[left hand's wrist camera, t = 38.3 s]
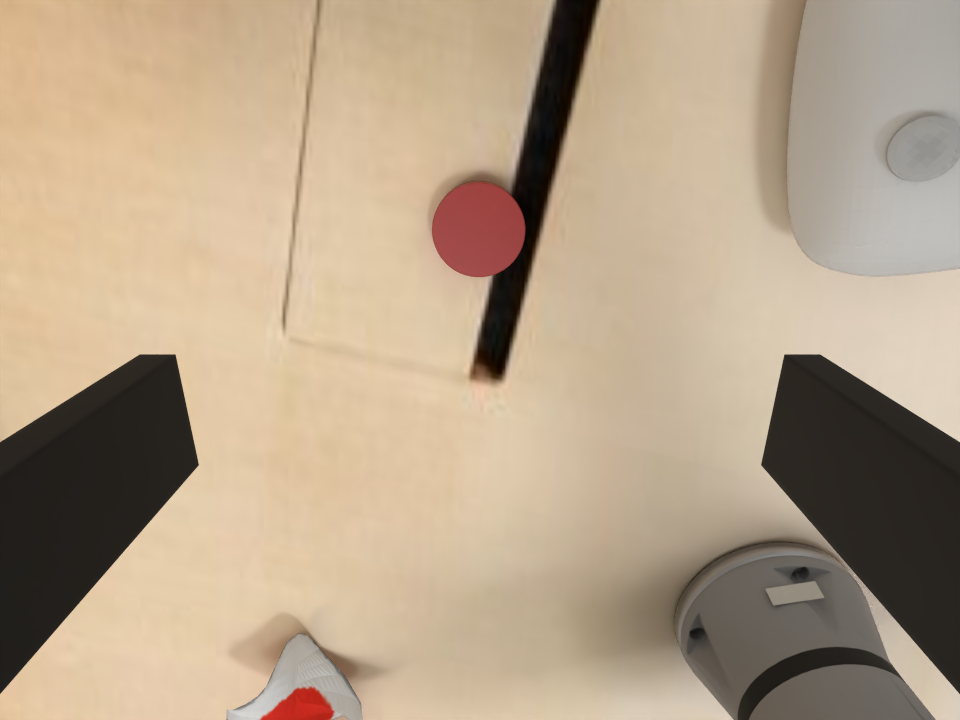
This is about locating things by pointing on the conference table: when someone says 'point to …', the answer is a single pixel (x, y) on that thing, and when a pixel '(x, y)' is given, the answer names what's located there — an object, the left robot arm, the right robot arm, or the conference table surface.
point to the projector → (877, 136)
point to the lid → (478, 229)
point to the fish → (302, 688)
